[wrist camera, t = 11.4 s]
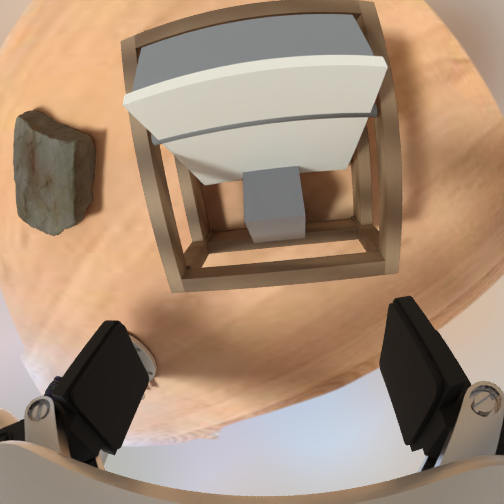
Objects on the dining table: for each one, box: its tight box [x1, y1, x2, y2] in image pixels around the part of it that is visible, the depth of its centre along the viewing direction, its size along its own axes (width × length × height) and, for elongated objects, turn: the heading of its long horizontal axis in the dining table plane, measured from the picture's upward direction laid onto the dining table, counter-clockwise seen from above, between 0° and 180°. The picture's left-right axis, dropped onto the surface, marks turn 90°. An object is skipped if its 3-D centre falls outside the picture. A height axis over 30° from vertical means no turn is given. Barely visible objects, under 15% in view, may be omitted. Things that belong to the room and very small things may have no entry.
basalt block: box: [243, 166, 305, 243], centre depth 26 cm, size 5×5×5 cm
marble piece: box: [13, 111, 96, 236], centre depth 28 cm, size 17×15×4 cm
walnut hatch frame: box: [121, 0, 402, 293], centre depth 22 cm, size 21×18×10 cm
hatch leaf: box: [123, 14, 388, 185], centre depth 19 cm, size 15×15×5 cm
